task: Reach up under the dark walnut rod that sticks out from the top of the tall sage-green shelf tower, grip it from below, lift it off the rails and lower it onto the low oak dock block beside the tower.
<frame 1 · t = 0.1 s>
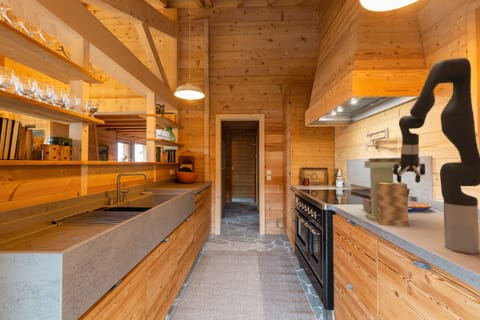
hand: (408, 182, 118), 22 cm above the worktop, tool pointing down, fingers open, 8 cm apart
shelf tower: (382, 218, 128), on the worktop
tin: (368, 212, 147), on the worktop
dock block: (392, 223, 118), on the worktop
walnut rod: (392, 165, 126), point 32 cm above the worktop, touching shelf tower
plant pot: (395, 212, 146), on the worktop
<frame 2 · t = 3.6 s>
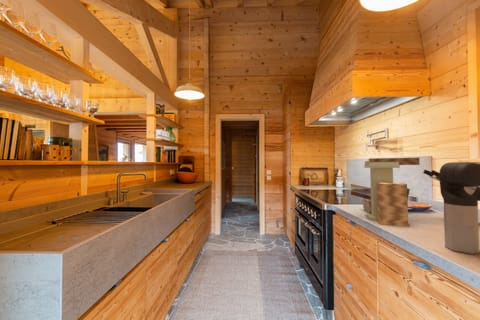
hand: (427, 171, 121), 28 cm above the worktop, tool pointing upward, fingers open, 8 cm apart
nothing on the worktop moved.
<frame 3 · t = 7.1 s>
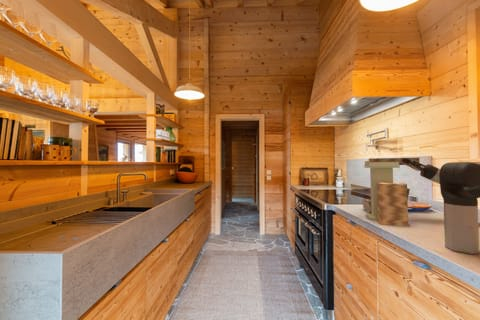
hand: (401, 159, 125), 35 cm above the worktop, tool pointing upward, fingers closed on walnut rod, 4 cm apart
walnut rod: (392, 165, 126), point 32 cm above the worktop, touching gripper, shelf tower
everything else where it was.
when the fingers open (26 cm above the worktop, at t = 13.3 s): walnut rod stays where it is, resting on dock block.
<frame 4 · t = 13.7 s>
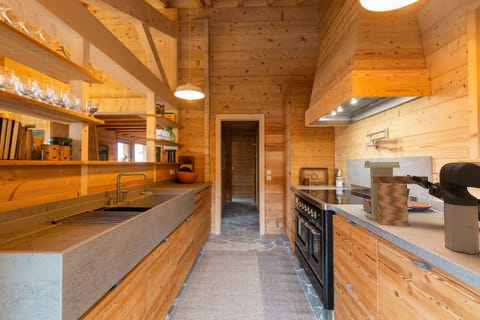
hand: (409, 176, 116), 26 cm above the worktop, tool pointing upward, fingers open, 8 cm apart
walnut rod: (399, 183, 117), point 22 cm above the worktop, touching dock block
everything else where it was.
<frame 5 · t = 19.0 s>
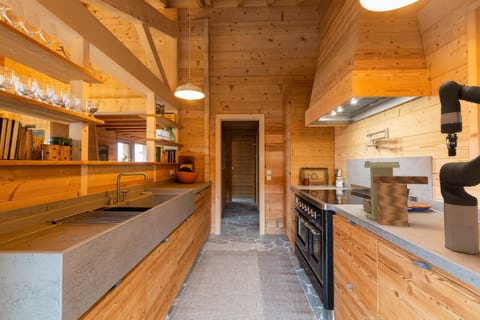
hand: (452, 156, 104), 36 cm above the worktop, tool pointing down, fingers open, 8 cm apart
nothing on the worktop moved.
at the end: walnut rod inside the target area on the dock block (0.4 cm from its centre), point 22.0 cm above the dock block's base; walnut rod tilted 0°; the gripper is holding nothing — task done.
